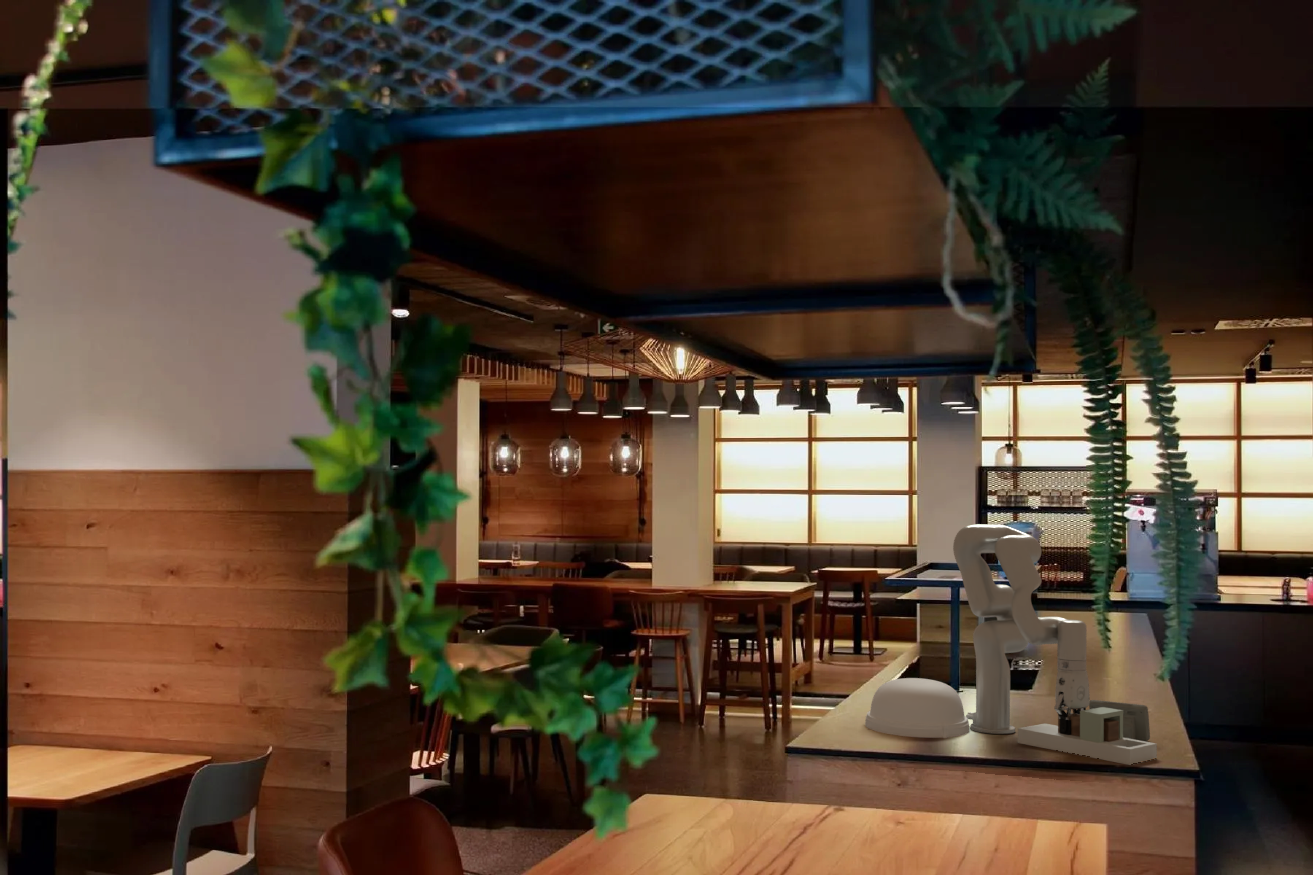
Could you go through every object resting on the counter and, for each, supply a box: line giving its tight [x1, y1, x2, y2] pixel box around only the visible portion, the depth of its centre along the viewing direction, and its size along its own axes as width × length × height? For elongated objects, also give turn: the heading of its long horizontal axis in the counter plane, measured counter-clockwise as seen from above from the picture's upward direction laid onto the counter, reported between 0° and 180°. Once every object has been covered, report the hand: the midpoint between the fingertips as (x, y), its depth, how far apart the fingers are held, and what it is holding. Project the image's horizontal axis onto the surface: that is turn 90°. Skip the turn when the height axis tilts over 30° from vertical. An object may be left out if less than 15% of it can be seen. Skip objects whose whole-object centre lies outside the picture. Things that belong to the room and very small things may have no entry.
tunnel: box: [1080, 707, 1123, 743], centre depth 331 cm, size 6×11×7 cm, turn 129°
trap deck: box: [1017, 723, 1158, 766], centre depth 334 cm, size 34×13×4 cm, turn 39°
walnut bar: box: [1057, 712, 1119, 742], centre depth 334 cm, size 15×5×5 cm, turn 39°
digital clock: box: [1088, 699, 1151, 742], centre depth 351 cm, size 16×9×11 cm, turn 46°
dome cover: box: [864, 677, 970, 739], centre depth 363 cm, size 32×30×14 cm
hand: (1071, 732), depth 337 cm, fingers closed on walnut bar, 5 cm apart
